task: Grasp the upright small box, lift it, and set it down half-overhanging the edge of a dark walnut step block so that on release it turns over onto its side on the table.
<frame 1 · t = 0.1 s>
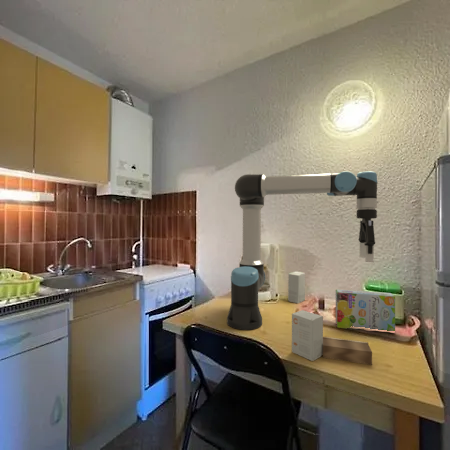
hand: (366, 259, 111), 28 cm above the table, fingers open, 13 cm apart
skincare box: (296, 301, 145), on the table
snack box: (363, 329, 108), on the table
walnut step: (345, 356, 86), on the table
small box: (307, 354, 87), on the table
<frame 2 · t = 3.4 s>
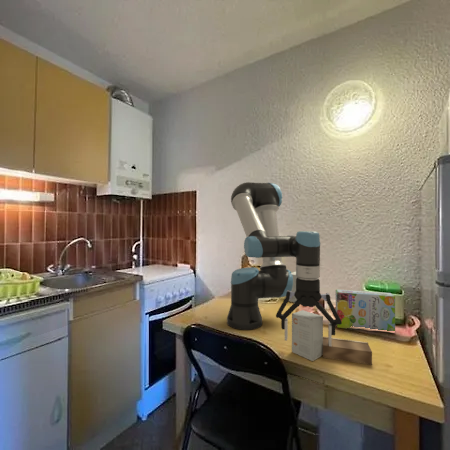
hand: (307, 342, 87), 4 cm above the table, fingers open, 13 cm apart
nothing on the table moved.
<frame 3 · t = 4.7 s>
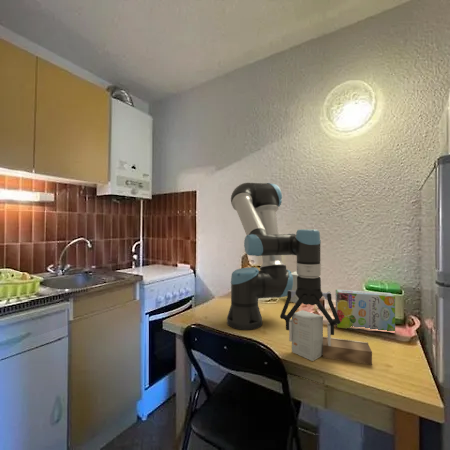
hand: (309, 342, 87), 4 cm above the table, fingers open, 11 cm apart
small box: (307, 354, 87), on the table, touching gripper
everything else where it was.
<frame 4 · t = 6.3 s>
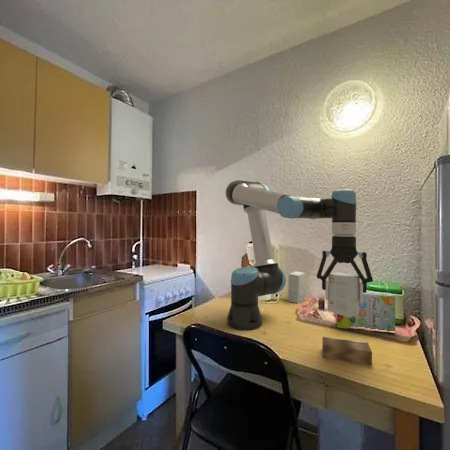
hand: (343, 300, 90), 17 cm above the table, fingers closed on small box, 10 cm apart
small box: (342, 313, 90), point 13 cm above the table, touching gripper
everything else where it was.
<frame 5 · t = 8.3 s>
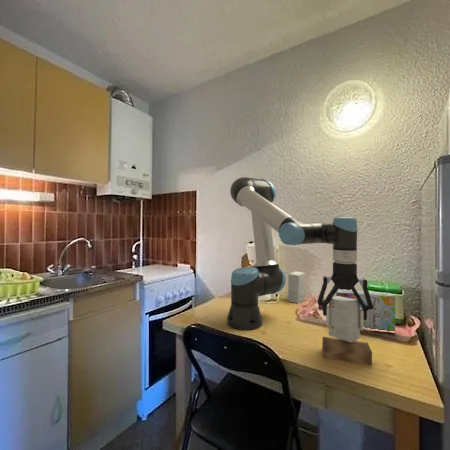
hand: (344, 326, 90), 8 cm above the table, fingers closed on small box, 10 cm apart
small box: (343, 337, 90), point 4 cm above the table, touching gripper, walnut step
everything else where it was.
when the fingers open (8 cm above the table, at t = 8.9 s): small box moves 4 cm, point 3 cm above the table.
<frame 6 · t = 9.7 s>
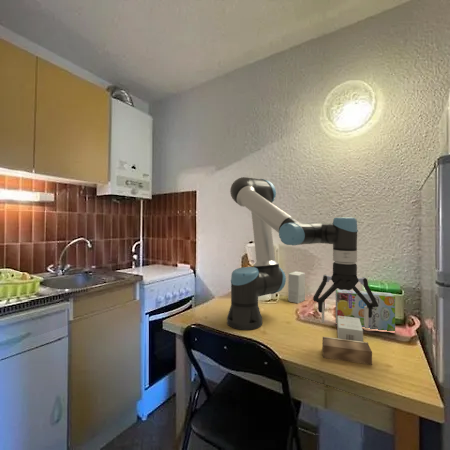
hand: (344, 324, 90), 9 cm above the table, fingers open, 13 cm apart
small box: (350, 338, 92), point 3 cm above the table
everything else where it was.
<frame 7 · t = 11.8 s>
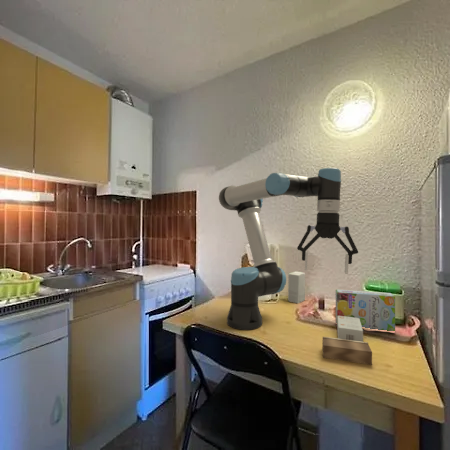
hand: (325, 271, 95), 26 cm above the table, fingers open, 13 cm apart
nothing on the table moved.
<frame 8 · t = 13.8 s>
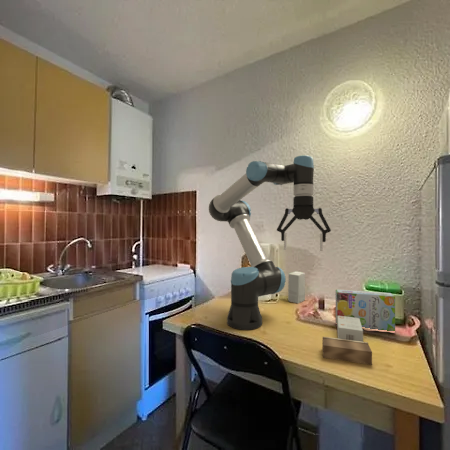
hand: (302, 249, 104), 33 cm above the table, fingers open, 13 cm apart
nothing on the table moved.
at the end: small box tilted 89°; small box inside the target area (5.7 cm from its centre), point 3.0 cm above the table; the gripper is holding nothing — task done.
